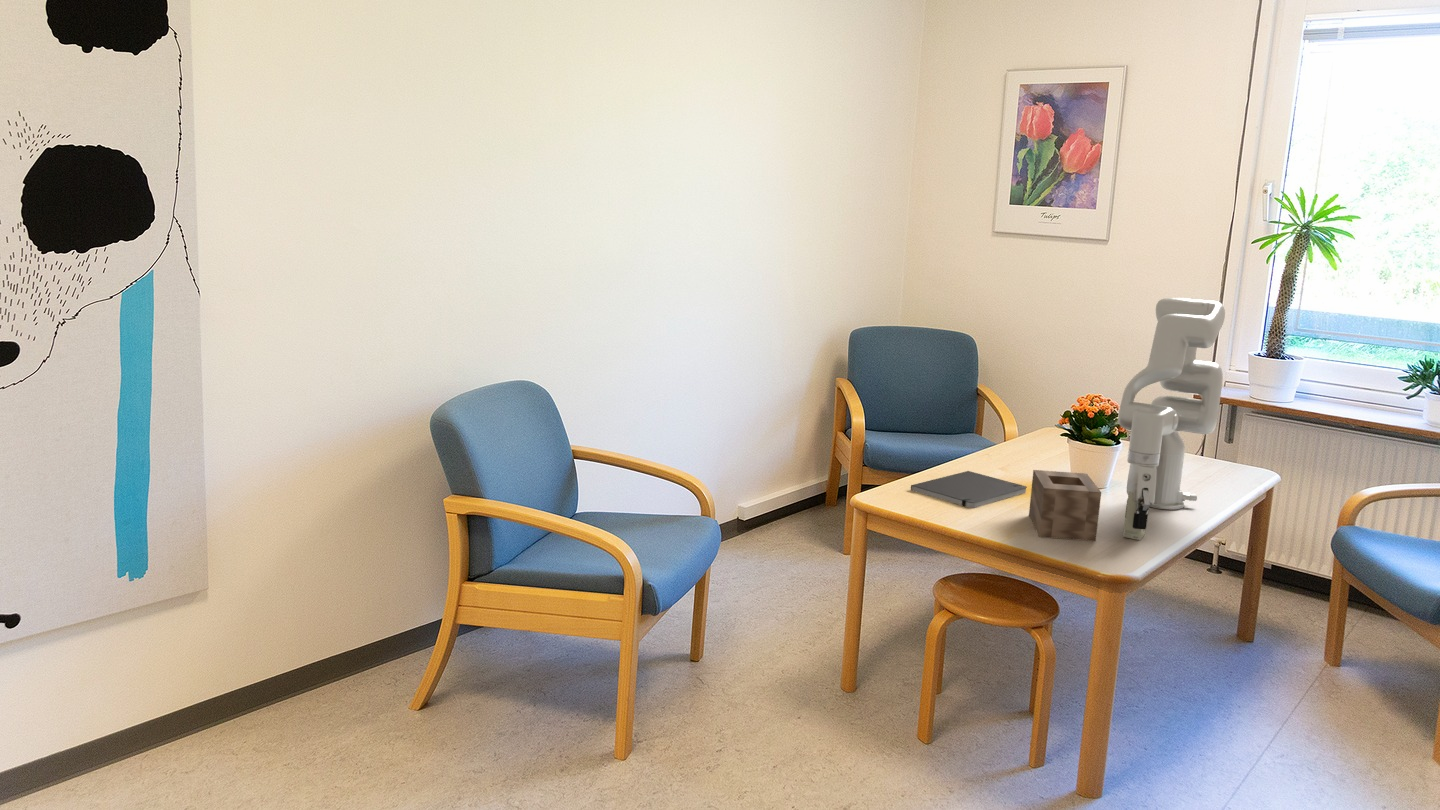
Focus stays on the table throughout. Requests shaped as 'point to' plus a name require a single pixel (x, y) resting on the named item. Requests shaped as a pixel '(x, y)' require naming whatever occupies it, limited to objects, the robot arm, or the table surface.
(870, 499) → the table surface
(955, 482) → the notebook
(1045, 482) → the socket block
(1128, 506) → the skincare box
